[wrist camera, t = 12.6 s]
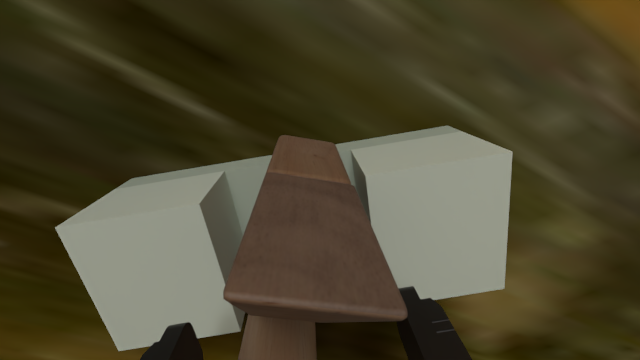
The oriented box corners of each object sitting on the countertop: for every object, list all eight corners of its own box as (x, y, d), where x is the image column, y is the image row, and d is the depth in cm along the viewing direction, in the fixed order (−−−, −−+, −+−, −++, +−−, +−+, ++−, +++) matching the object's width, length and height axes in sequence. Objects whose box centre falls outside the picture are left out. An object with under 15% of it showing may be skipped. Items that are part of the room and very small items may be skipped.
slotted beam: (131, 178, 21) (55, 227, 15) (447, 125, 21) (512, 151, 15) (169, 273, 24) (118, 351, 17) (449, 227, 24) (504, 288, 17)
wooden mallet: (337, 142, 19) (595, 712, 2) (308, 284, 23) (323, 926, 6) (278, 132, 19) (36, 733, 2) (258, 278, 22) (113, 947, 5)
